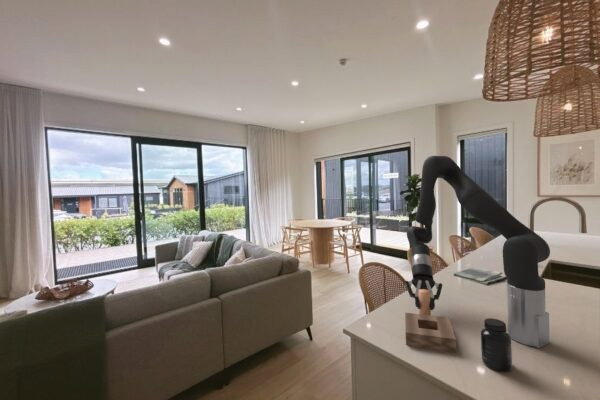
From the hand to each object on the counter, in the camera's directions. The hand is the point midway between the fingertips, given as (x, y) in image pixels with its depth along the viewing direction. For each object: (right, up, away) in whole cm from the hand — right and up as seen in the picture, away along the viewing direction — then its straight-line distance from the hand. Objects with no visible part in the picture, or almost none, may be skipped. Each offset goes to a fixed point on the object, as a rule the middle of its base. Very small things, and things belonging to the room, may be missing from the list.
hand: (425, 308), depth 99 cm
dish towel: (+49, -1, +42) cm, 64 cm away
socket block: (-4, -5, -10) cm, 12 cm away
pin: (+1, -4, +2) cm, 5 cm away
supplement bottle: (+8, -5, -26) cm, 27 cm away
